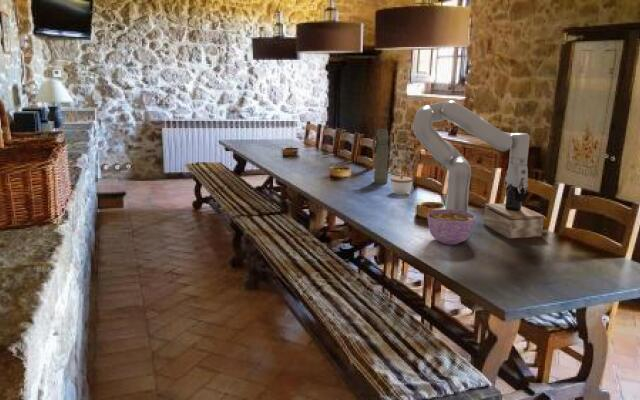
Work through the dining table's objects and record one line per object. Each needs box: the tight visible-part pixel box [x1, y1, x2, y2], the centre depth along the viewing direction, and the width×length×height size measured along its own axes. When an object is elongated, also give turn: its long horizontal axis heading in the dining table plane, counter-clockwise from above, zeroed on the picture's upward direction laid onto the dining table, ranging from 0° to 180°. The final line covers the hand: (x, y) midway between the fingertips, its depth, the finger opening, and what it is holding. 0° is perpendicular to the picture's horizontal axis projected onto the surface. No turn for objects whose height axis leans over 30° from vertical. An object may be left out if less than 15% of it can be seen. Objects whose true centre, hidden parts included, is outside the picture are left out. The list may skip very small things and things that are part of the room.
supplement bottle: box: [504, 184, 523, 211], centre depth 226 cm, size 7×7×12 cm
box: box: [483, 207, 544, 239], centre depth 229 cm, size 16×22×8 cm
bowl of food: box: [426, 208, 477, 245], centre depth 212 cm, size 20×20×12 cm
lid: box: [484, 203, 545, 219], centre depth 227 cm, size 16×22×1 cm
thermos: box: [372, 128, 392, 185], centre depth 327 cm, size 9×12×35 cm
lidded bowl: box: [390, 174, 413, 196], centre depth 300 cm, size 13×13×11 cm
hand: (514, 199), depth 226 cm, fingers open, 9 cm apart
